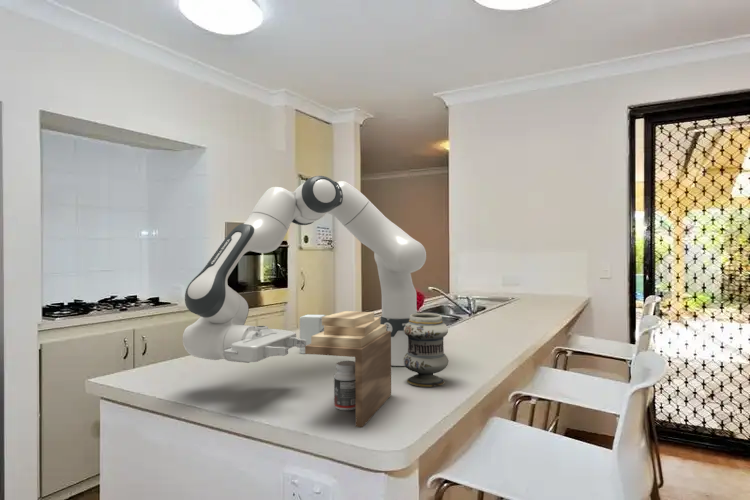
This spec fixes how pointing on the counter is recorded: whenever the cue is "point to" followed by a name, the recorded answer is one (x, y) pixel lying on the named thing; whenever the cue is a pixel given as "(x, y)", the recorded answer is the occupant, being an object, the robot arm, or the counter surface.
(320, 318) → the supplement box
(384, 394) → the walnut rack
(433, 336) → the apothecary jar
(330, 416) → the counter surface
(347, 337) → the offcut stack
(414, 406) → the counter surface
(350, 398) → the pill bottle
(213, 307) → the robot arm
